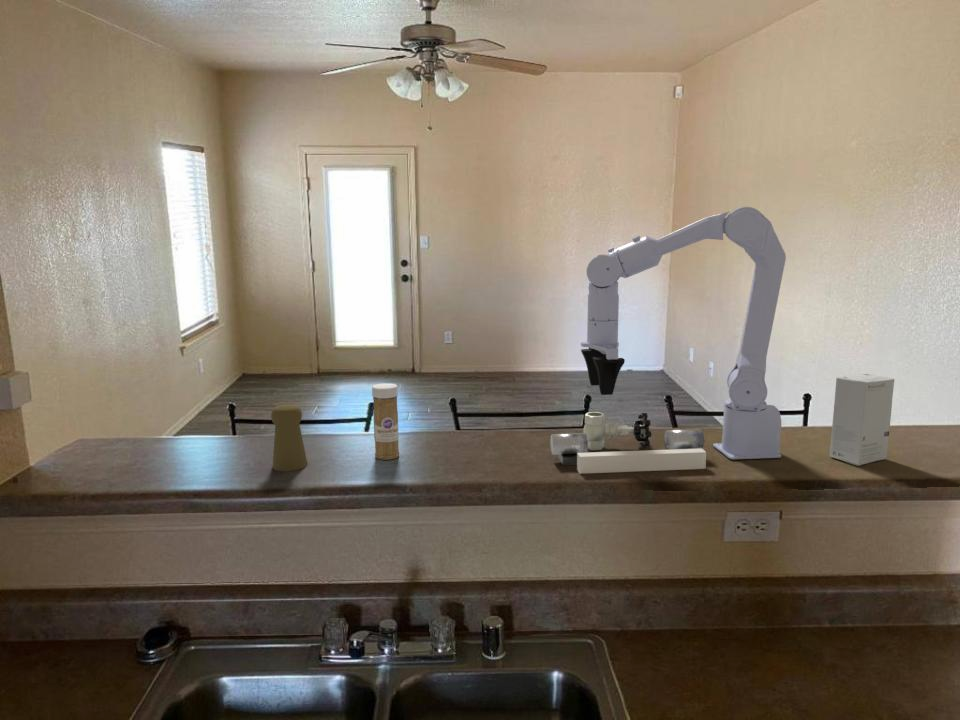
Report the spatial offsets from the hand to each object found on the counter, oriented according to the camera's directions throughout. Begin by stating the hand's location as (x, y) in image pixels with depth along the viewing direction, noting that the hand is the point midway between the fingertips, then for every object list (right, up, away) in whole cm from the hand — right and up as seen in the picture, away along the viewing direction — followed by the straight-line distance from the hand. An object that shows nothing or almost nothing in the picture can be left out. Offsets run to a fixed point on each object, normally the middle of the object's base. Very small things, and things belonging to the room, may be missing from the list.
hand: (601, 389), depth 133 cm
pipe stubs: (+3, -12, -8) cm, 15 cm away
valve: (+2, -11, -1) cm, 11 cm away
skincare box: (+44, -12, -9) cm, 47 cm away
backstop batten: (+4, -13, -14) cm, 19 cm away
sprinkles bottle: (-40, -12, -6) cm, 42 cm away
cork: (-57, -13, -10) cm, 59 cm away
